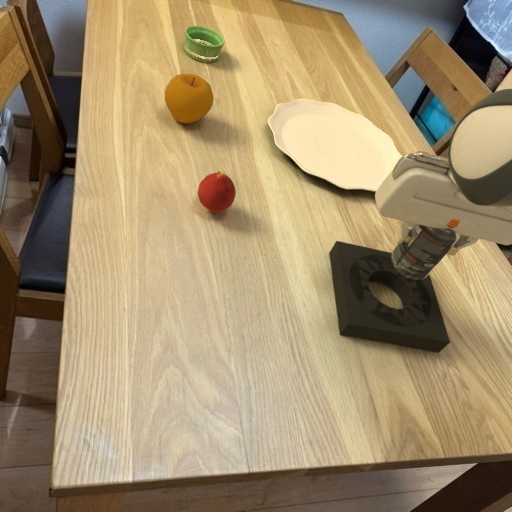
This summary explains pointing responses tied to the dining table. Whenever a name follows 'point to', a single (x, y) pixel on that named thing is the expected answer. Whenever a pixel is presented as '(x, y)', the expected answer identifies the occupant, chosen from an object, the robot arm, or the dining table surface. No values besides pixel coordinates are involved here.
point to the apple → (188, 97)
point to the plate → (333, 143)
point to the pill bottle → (424, 250)
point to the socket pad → (376, 313)
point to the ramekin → (203, 48)
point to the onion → (216, 192)
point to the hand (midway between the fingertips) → (424, 246)
